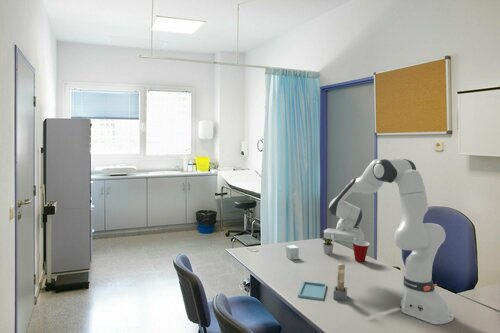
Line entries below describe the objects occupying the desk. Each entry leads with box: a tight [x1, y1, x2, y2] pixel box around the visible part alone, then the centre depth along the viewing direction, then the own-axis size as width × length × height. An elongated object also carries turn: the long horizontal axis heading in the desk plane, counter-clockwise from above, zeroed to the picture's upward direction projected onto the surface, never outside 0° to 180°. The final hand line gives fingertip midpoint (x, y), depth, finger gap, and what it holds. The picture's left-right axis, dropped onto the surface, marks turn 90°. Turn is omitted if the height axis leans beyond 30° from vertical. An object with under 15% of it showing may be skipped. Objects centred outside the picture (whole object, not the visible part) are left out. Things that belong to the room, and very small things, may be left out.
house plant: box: [319, 229, 338, 255], centre depth 253 cm, size 14×14×16 cm
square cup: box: [333, 285, 348, 302], centre depth 185 cm, size 6×6×5 cm
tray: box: [297, 280, 328, 301], centre depth 192 cm, size 18×12×2 cm, turn 164°
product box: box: [285, 244, 300, 260], centre depth 245 cm, size 6×6×7 cm
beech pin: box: [336, 263, 346, 291], centre depth 184 cm, size 3×3×16 cm
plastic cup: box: [352, 240, 370, 263], centre depth 240 cm, size 11×11×12 cm
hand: (343, 240), depth 195 cm, fingers open, 8 cm apart
